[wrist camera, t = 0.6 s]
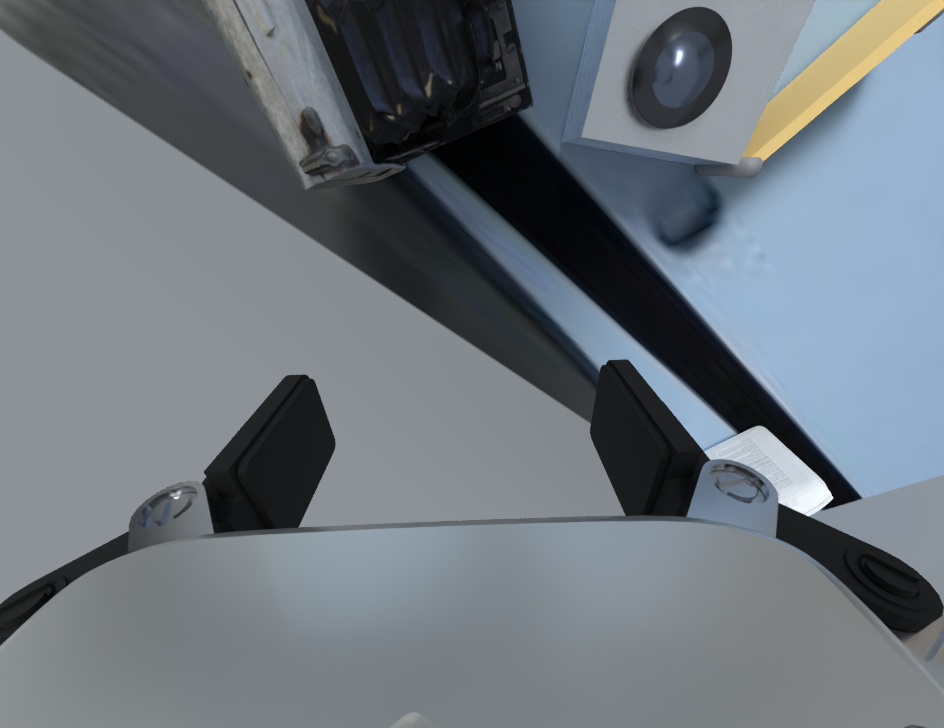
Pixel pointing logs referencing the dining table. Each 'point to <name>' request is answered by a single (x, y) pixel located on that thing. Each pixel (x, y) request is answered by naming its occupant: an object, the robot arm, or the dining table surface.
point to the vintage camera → (373, 77)
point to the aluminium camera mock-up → (680, 75)
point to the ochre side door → (830, 78)
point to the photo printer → (776, 468)
